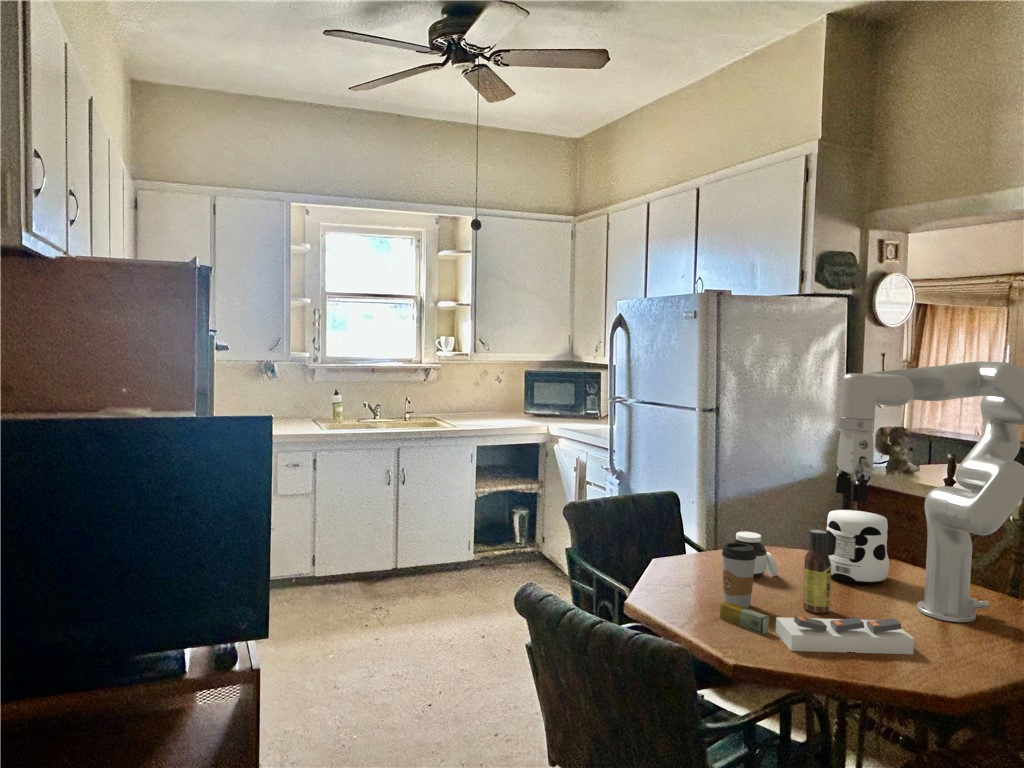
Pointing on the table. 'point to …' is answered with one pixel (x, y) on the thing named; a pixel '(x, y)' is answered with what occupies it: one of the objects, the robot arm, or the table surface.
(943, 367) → the robot arm
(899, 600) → the table surface
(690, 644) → the table surface
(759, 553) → the spread jar
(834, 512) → the milk container
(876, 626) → the rocker
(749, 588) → the coffee cup
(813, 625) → the rocker
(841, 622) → the rocker middle
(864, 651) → the rocker switch panel
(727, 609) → the medication box
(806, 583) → the sauce bottle
